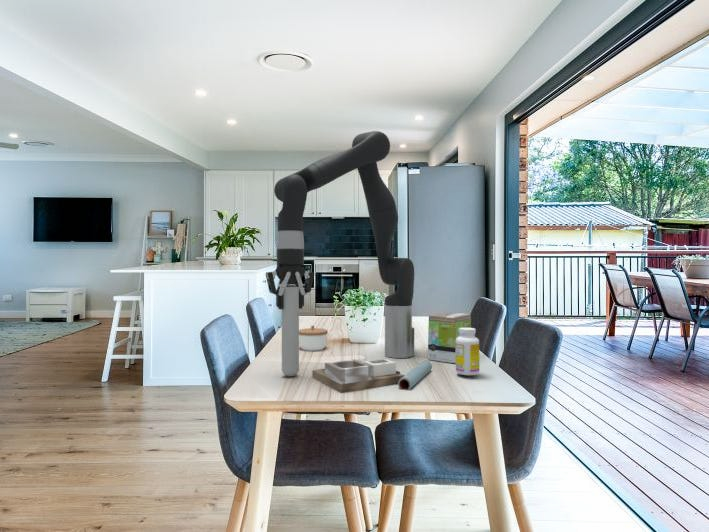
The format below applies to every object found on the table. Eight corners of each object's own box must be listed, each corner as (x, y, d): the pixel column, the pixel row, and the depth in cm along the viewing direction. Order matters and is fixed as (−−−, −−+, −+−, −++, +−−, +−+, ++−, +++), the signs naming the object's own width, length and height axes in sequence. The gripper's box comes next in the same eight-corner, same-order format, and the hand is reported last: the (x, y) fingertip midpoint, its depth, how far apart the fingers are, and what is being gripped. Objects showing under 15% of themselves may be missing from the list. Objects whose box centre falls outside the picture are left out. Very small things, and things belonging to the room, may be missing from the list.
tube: (297, 379, 121) (297, 287, 121) (278, 378, 122) (278, 287, 122) (301, 374, 127) (301, 286, 127) (283, 373, 127) (283, 286, 127)
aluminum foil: (410, 392, 110) (410, 378, 110) (385, 389, 113) (385, 375, 113) (432, 372, 131) (432, 360, 131) (410, 370, 134) (410, 358, 134)
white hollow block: (385, 370, 123) (385, 358, 123) (395, 373, 118) (395, 361, 118) (363, 372, 119) (363, 360, 119) (373, 376, 115) (373, 364, 115)
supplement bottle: (480, 371, 130) (480, 327, 130) (478, 376, 124) (478, 330, 124) (456, 369, 132) (456, 326, 132) (454, 374, 126) (454, 329, 126)
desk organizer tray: (371, 369, 132) (371, 351, 132) (404, 382, 117) (404, 361, 117) (312, 377, 123) (312, 357, 123) (340, 392, 108) (340, 369, 108)
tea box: (456, 363, 141) (456, 317, 141) (426, 360, 146) (427, 315, 146) (471, 355, 153) (471, 312, 153) (443, 352, 159) (443, 311, 159)
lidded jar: (296, 349, 164) (296, 324, 164) (324, 348, 167) (324, 323, 167) (299, 355, 154) (299, 328, 154) (330, 354, 156) (330, 327, 156)
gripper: (269, 246, 117) (269, 311, 117) (319, 247, 124) (319, 308, 124) (261, 247, 124) (261, 308, 124) (308, 248, 131) (308, 306, 131)
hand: (290, 308), depth 124 cm, fingers closed on tube, 5 cm apart
